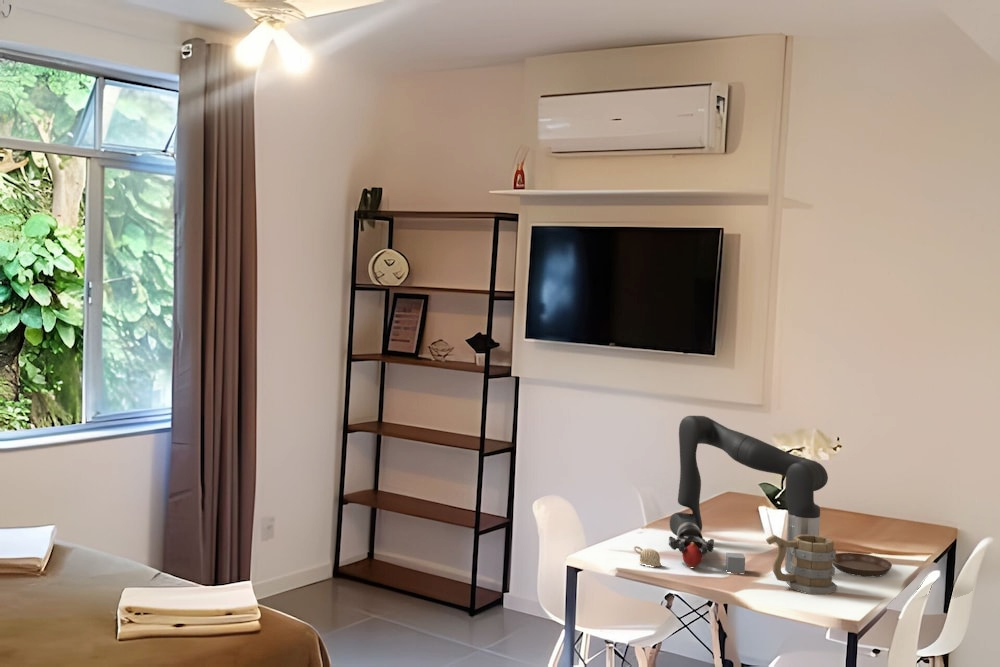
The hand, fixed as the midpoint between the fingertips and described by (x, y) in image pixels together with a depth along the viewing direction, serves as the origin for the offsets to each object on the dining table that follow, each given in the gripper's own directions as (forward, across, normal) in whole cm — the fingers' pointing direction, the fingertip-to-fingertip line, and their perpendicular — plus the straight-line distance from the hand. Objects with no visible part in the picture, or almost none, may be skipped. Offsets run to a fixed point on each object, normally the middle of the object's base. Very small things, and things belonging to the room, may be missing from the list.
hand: (693, 550), depth 291 cm
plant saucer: (-13, +51, +6) cm, 53 cm away
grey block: (-2, +12, +6) cm, 14 cm away
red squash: (-3, 0, +6) cm, 7 cm away
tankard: (+10, +29, +6) cm, 31 cm away
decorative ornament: (-3, -13, +6) cm, 15 cm away
